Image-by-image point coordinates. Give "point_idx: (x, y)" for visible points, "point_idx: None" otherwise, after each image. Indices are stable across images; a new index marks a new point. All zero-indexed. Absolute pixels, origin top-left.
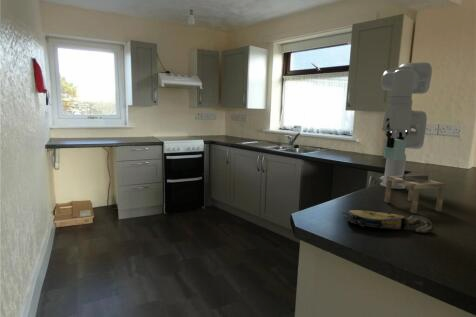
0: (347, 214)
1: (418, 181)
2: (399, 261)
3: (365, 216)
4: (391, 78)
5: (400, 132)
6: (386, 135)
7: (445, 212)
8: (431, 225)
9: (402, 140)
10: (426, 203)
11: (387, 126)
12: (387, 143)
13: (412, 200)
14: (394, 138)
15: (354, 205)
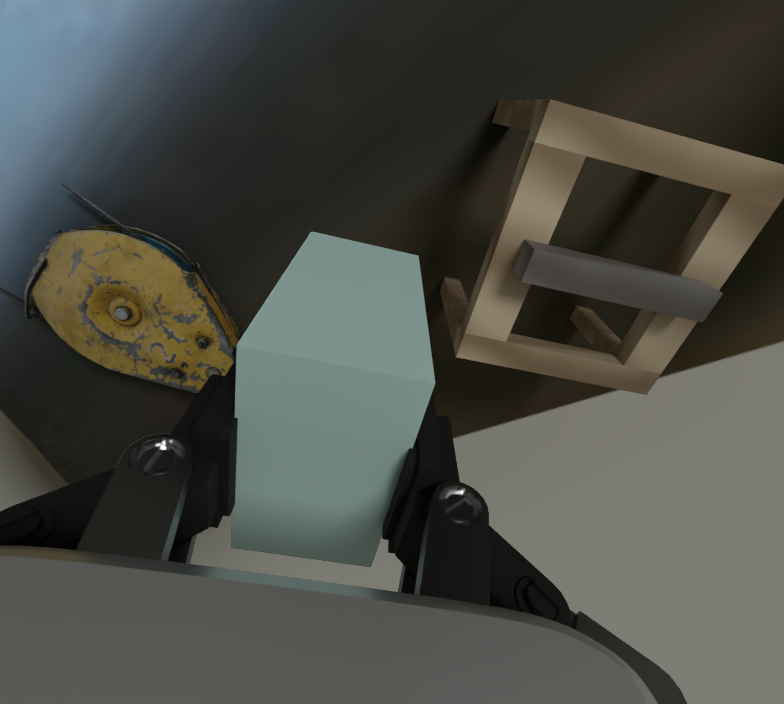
0: (47, 245)
1: (677, 251)
2: (69, 455)
3: (67, 335)
4: None
5: (455, 593)
6: (92, 480)
7: (580, 335)
8: None
9: (303, 556)
10: (674, 229)
11: None
12: (204, 392)
13: (449, 300)
14: (216, 523)
15: (255, 75)
